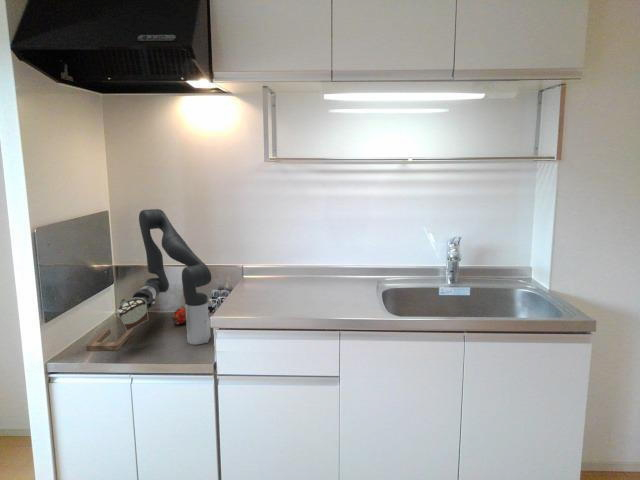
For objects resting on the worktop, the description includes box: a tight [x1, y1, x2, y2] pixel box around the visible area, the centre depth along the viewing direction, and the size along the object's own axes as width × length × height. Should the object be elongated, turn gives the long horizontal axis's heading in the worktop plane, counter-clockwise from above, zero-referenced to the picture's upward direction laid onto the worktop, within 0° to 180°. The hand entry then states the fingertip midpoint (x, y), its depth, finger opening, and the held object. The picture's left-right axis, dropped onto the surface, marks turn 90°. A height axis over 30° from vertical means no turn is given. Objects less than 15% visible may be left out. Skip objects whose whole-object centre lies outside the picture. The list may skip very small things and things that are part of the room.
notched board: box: [85, 328, 135, 352], centre depth 189 cm, size 12×18×2 cm
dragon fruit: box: [172, 306, 186, 326], centre depth 209 cm, size 8×8×12 cm
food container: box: [116, 297, 150, 332], centre depth 178 cm, size 12×6×10 cm, turn 135°
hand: (129, 310), depth 177 cm, fingers closed on food container, 5 cm apart
